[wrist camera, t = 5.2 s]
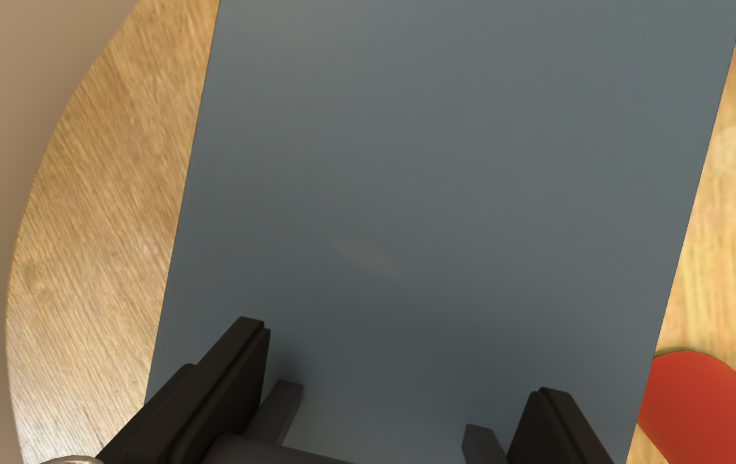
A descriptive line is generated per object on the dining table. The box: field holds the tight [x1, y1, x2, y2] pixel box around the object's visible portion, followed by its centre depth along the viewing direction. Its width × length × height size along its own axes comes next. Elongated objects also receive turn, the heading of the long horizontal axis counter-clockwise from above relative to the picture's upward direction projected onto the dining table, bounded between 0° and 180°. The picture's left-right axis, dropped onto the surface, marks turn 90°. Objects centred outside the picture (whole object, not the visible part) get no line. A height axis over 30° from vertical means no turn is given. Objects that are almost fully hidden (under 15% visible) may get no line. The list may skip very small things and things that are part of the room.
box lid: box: [144, 0, 736, 464], centre depth 8 cm, size 15×13×5 cm
